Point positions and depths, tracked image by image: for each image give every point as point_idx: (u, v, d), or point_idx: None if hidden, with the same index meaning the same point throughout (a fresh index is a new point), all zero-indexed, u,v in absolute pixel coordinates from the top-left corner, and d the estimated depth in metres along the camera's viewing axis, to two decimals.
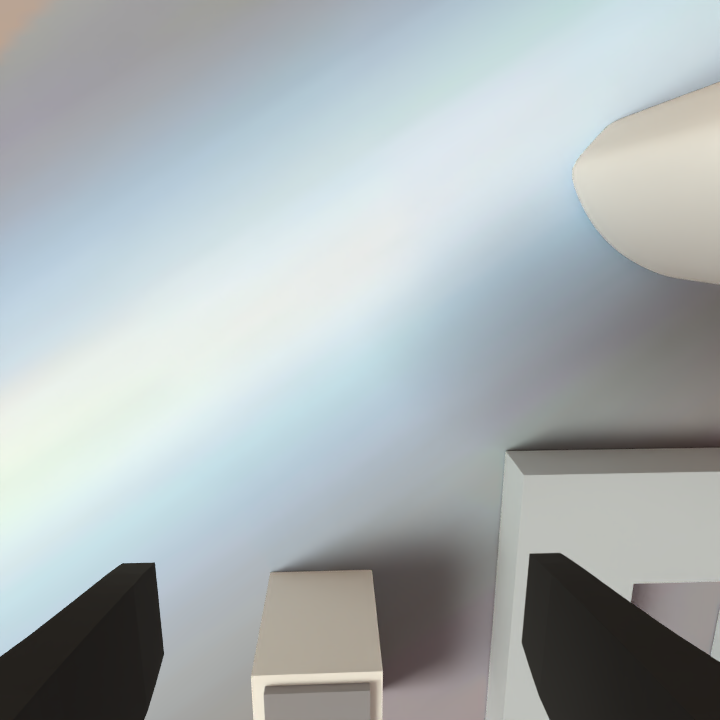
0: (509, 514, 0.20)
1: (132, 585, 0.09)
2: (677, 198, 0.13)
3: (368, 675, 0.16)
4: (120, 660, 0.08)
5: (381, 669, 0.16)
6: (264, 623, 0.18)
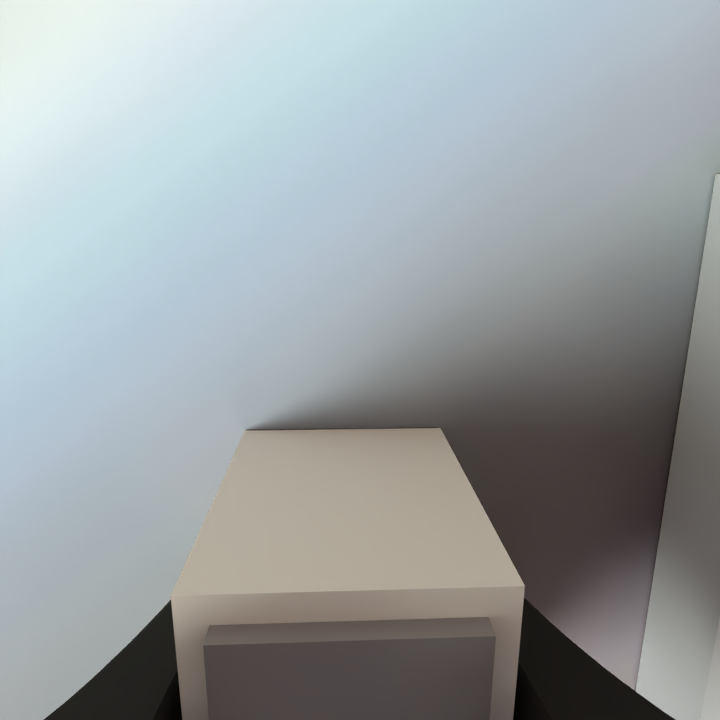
0: None
1: None
2: None
3: (485, 597, 0.06)
4: None
5: (519, 582, 0.06)
6: (222, 499, 0.08)
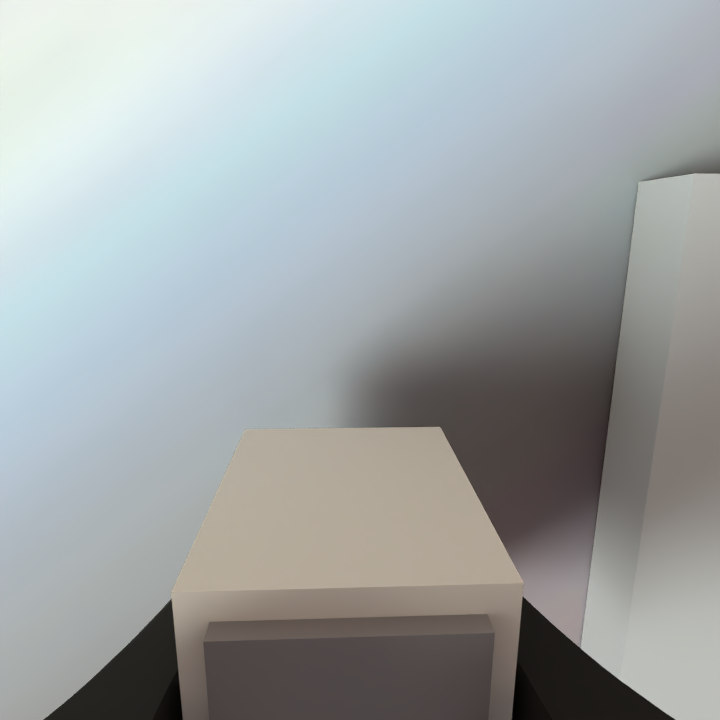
0: (649, 276, 0.12)
1: None
2: None
3: (484, 595, 0.06)
4: None
5: (518, 579, 0.06)
6: (221, 497, 0.08)
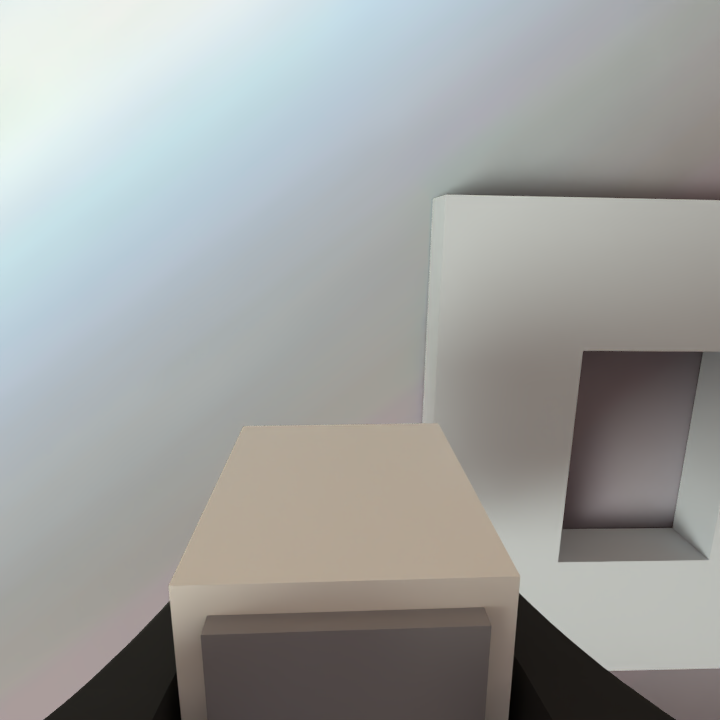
0: (434, 269, 0.16)
1: None
2: None
3: (481, 588, 0.06)
4: None
5: (515, 572, 0.06)
6: (219, 493, 0.08)
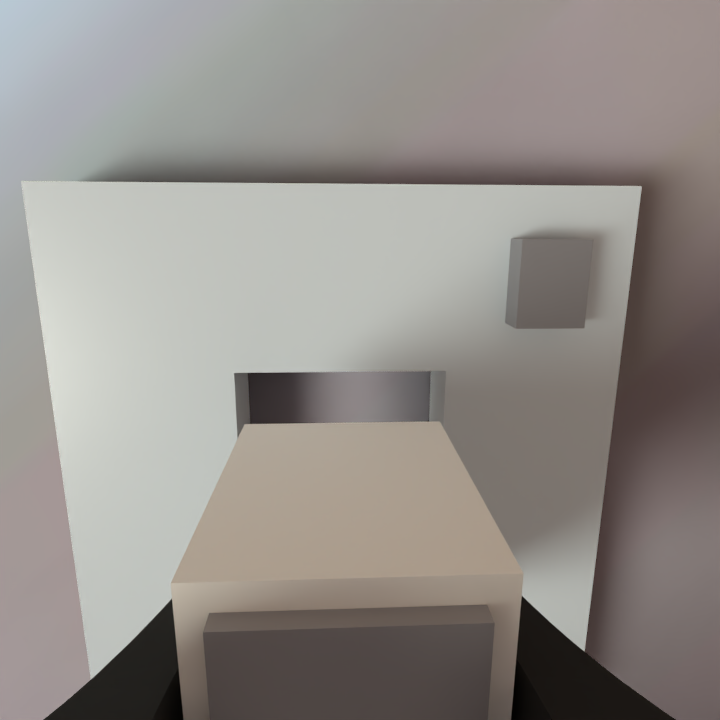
0: None
1: None
2: None
3: (484, 585, 0.06)
4: None
5: (518, 569, 0.06)
6: (221, 491, 0.08)
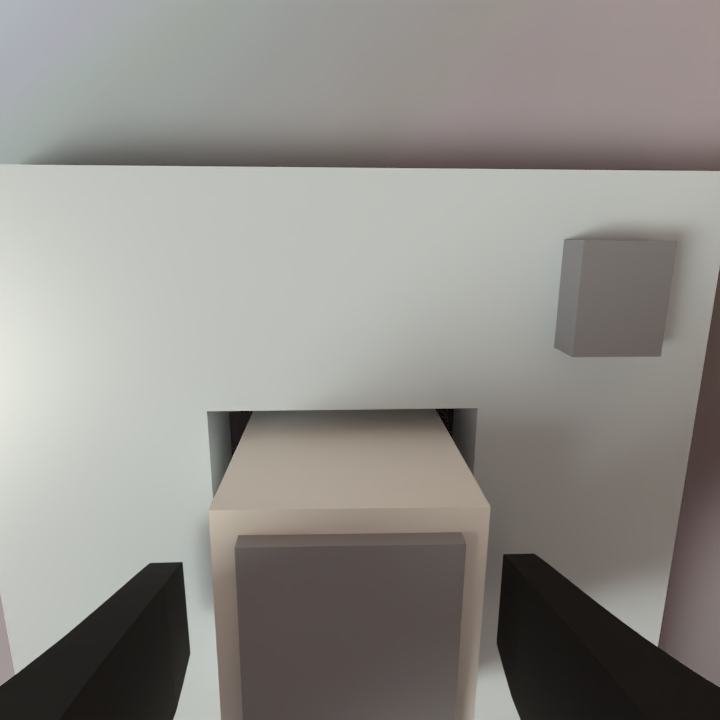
0: None
1: (163, 584, 0.09)
2: None
3: (459, 516, 0.08)
4: (153, 659, 0.08)
5: (486, 504, 0.08)
6: (243, 449, 0.10)
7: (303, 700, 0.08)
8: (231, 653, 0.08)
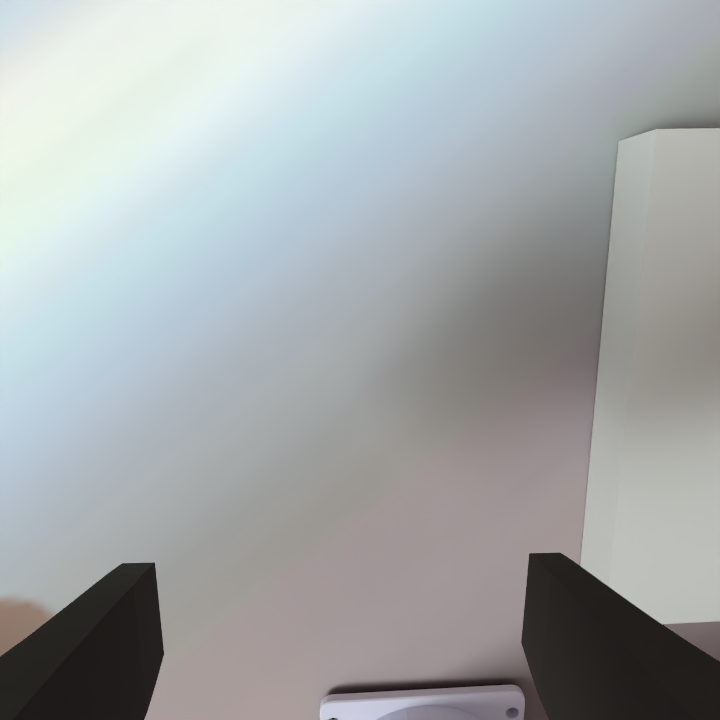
0: (627, 210, 0.16)
1: (132, 585, 0.09)
2: None
3: None
4: (120, 660, 0.08)
5: None
6: None
7: None
8: None
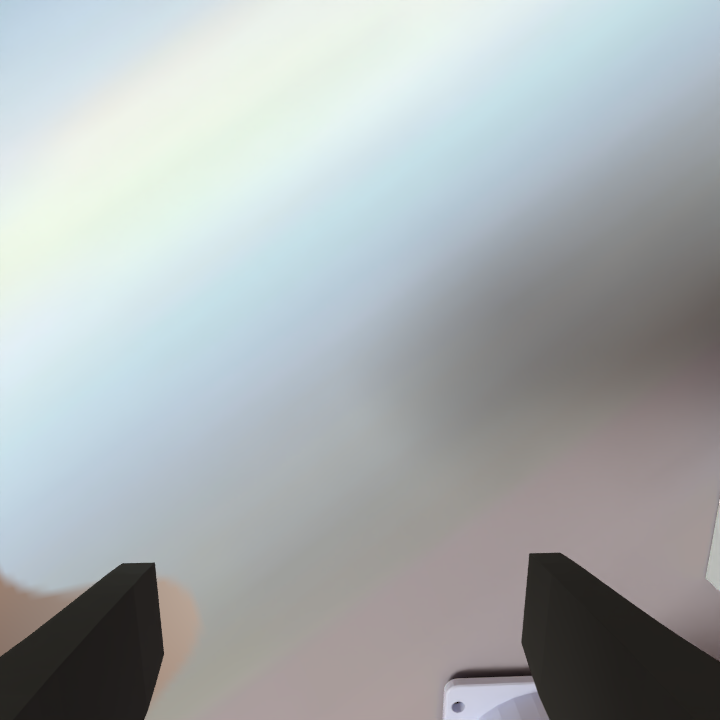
0: None
1: (132, 585, 0.09)
2: None
3: None
4: (120, 660, 0.08)
5: None
6: None
7: None
8: None
